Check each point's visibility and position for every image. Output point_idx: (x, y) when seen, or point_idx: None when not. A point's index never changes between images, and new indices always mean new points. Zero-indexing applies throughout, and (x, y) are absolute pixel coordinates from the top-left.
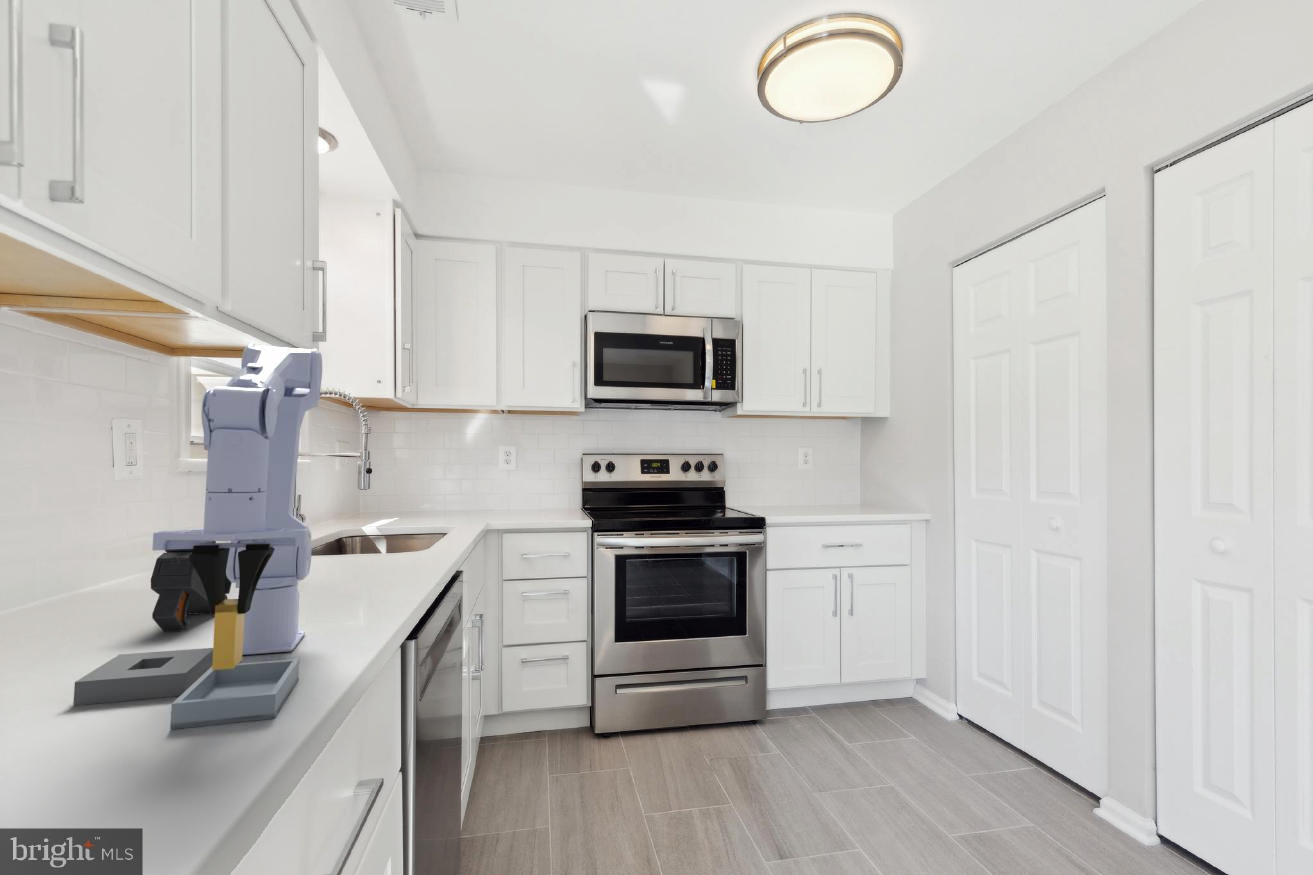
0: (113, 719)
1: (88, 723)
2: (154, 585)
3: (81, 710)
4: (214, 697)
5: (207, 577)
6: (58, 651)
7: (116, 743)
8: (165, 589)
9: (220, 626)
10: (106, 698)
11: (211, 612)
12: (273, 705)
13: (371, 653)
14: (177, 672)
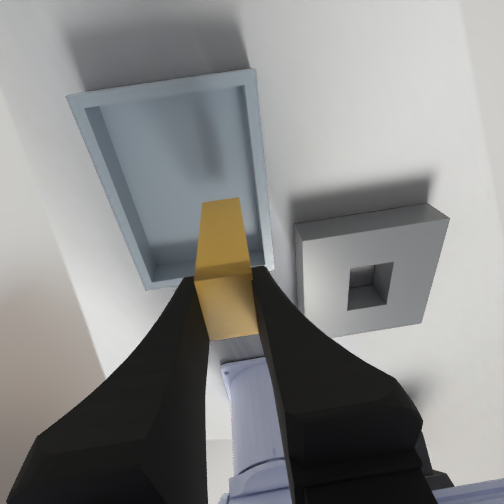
0: (357, 137)
1: (387, 126)
2: (445, 479)
3: (412, 183)
4: (237, 192)
5: (295, 336)
6: (485, 371)
7: (313, 13)
8: (428, 474)
9: (232, 241)
10: (392, 211)
11: (263, 268)
12: (78, 93)
13: (100, 357)
14: (316, 244)
